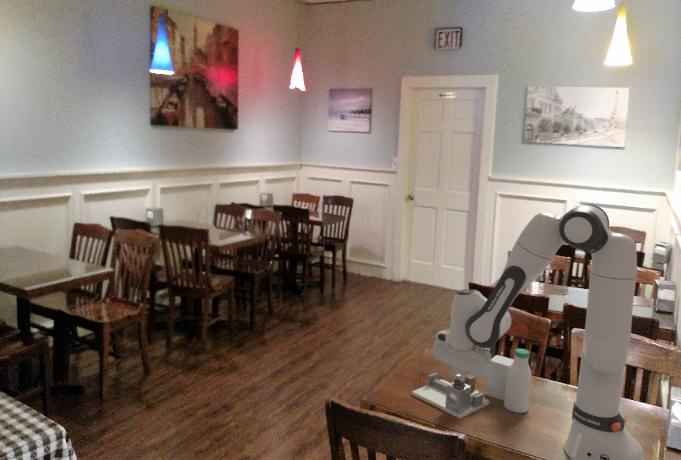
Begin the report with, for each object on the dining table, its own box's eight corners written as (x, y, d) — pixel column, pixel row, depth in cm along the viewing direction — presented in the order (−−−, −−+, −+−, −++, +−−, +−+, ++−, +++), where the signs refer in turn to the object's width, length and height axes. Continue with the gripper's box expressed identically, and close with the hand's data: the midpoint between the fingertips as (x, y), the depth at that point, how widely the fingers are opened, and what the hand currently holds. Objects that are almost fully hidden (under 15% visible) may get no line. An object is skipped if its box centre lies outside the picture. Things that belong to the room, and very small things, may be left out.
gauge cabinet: (468, 412, 180) (471, 386, 178) (458, 417, 176) (460, 391, 174) (455, 405, 184) (457, 380, 182) (444, 410, 180) (446, 384, 178)
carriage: (479, 400, 184) (481, 377, 183) (470, 405, 181) (472, 381, 180) (464, 394, 189) (466, 371, 187) (455, 398, 186) (457, 375, 184)
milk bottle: (529, 415, 179) (536, 356, 176) (504, 411, 181) (511, 353, 177) (526, 404, 187) (533, 347, 183) (503, 400, 188) (508, 345, 185)
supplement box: (505, 401, 188) (509, 366, 186) (484, 394, 192) (488, 360, 190) (513, 394, 194) (517, 359, 192) (493, 387, 198) (496, 354, 196)
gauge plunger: (465, 404, 179) (467, 381, 178) (458, 407, 177) (460, 384, 175) (456, 400, 182) (458, 377, 180) (449, 403, 179) (451, 380, 178)
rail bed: (489, 404, 186) (490, 390, 185) (460, 418, 175) (461, 404, 174) (441, 382, 200) (442, 369, 200) (412, 394, 190) (413, 381, 189)
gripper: (497, 347, 170) (493, 390, 172) (443, 328, 185) (440, 367, 187) (485, 352, 166) (481, 395, 168) (431, 332, 181) (428, 372, 183)
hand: (459, 380), depth 178 cm, fingers closed, pressing on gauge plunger
